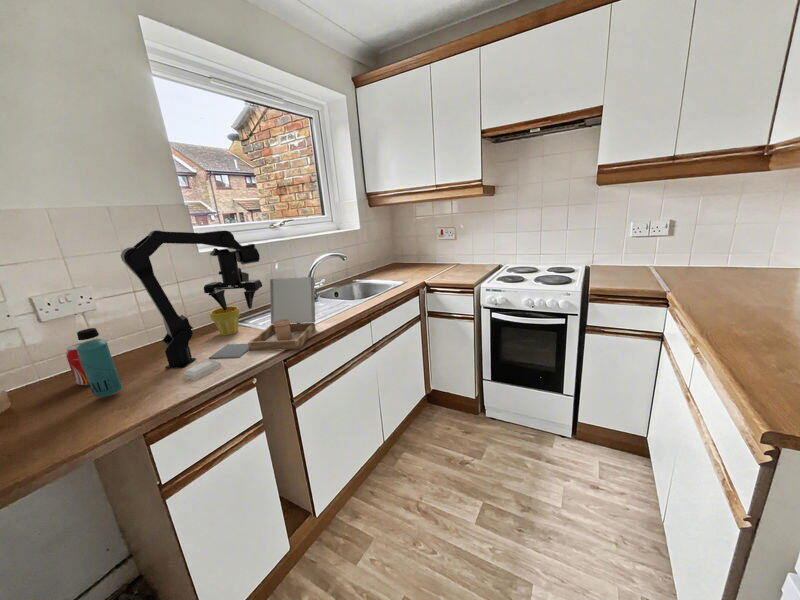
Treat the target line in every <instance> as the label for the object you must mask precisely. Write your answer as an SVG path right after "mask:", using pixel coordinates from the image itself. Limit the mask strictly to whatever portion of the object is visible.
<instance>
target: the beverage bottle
mask: <svg viewBox="0 0 800 600" xmlns="http://www.w3.org/2000/svg"><path fill="white" fill-rule="evenodd" d="M76 336H77V340H79V341H83V342H80V343H81V344H80V345H79V346H78V348H77V352H78V354H79V357H80V360H81V365H82V368H83V369H84V372H85V373H86V377H87V379H88V381H89V383H88V384H89V385H88V387H89V389H90V390H91V393H92V395H93V396H94V397H95V398H105V397H108V396H111V395H114V394H116V393H118V392H120V391H121V390H122V389H123V385H122V384H123V383H122V381H121V379H120V375H119V373H118V371H117V369H116V368H117V367H116V366H115V363H114V360H113V357H112V354H111V351H110V348H109V345H108V342H107V340H103V339H101V338H96V337H99V336H100V334H99V332H98V330H97V328H95V327H91V328H90V327H89V328H85V329H81V330H79V331H77V332H76ZM85 340H86V341H85Z"/></svg>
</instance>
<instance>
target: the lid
mask: <svg viewBox="0 0 800 600" xmlns="http://www.w3.org/2000/svg"><path fill="white" fill-rule="evenodd" d="M269 285H270V325H272V324H273V323H274V322H275V321H278V320H284V319H287V320H290V324H296V323H316V299H315V296H316V295H315V293H316V292H315V277H314V276H307V277H306V276H302V277H287V278H274V279H273V278H270V281H269Z"/></svg>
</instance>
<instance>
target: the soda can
mask: <svg viewBox="0 0 800 600" xmlns="http://www.w3.org/2000/svg"><path fill="white" fill-rule="evenodd" d="M81 343H82V342H80V343H76V344H72V345H71V346H68V347H66V350H67V352H66V354H65V356H66V359H67V362H68V365H69V367H70V371H71V372H72V376H73V377H74V379H75V381H76V384H77V385H80V386H89V384H88V383H89V381H88V379H87V377H86V373H85V372H84V369H83V368H82V365H81V360H80V357H79V354H78V352H77V348H78V346H79V345H80V344H81Z"/></svg>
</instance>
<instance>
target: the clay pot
mask: <svg viewBox="0 0 800 600" xmlns="http://www.w3.org/2000/svg"><path fill="white" fill-rule="evenodd" d="M289 324H291V323H290V320H287V319H284V320H278V321H275V322H274V323H273V325H274V327H275V331H276V332H275V336H276V341H279V340H293V338H292V332H291V331H290V325H289Z"/></svg>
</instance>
